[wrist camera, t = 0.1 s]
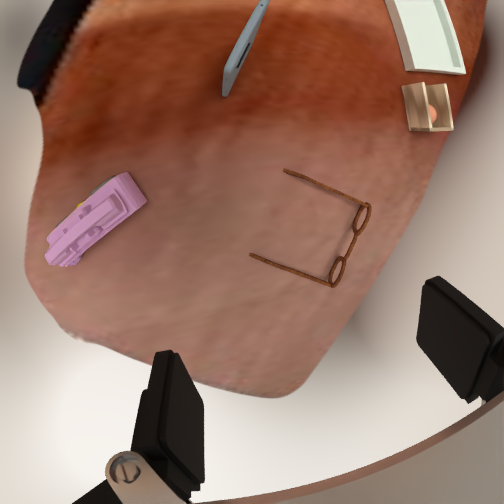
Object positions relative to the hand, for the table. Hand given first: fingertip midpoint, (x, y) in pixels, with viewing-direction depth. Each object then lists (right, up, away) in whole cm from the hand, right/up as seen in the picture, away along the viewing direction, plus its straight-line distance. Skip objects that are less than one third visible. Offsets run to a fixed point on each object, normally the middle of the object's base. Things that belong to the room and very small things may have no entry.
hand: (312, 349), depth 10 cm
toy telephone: (-24, +8, +28) cm, 37 cm away
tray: (+25, +40, +20) cm, 51 cm away
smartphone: (-4, +26, +22) cm, 35 cm away
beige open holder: (+23, +25, +26) cm, 43 cm away
